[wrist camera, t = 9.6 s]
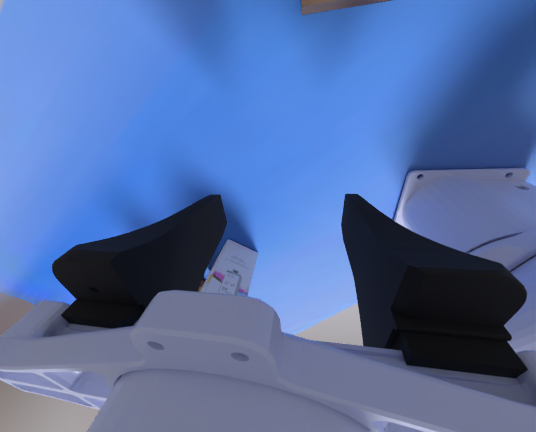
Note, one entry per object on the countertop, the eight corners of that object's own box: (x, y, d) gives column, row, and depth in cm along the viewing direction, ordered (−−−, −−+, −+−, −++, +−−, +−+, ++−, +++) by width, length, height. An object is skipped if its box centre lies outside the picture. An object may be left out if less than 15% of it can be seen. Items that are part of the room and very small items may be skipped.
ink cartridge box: (237, 283, 34) (199, 399, 22) (209, 270, 33) (154, 383, 21) (260, 252, 29) (228, 378, 17) (228, 236, 28) (171, 356, 16)
